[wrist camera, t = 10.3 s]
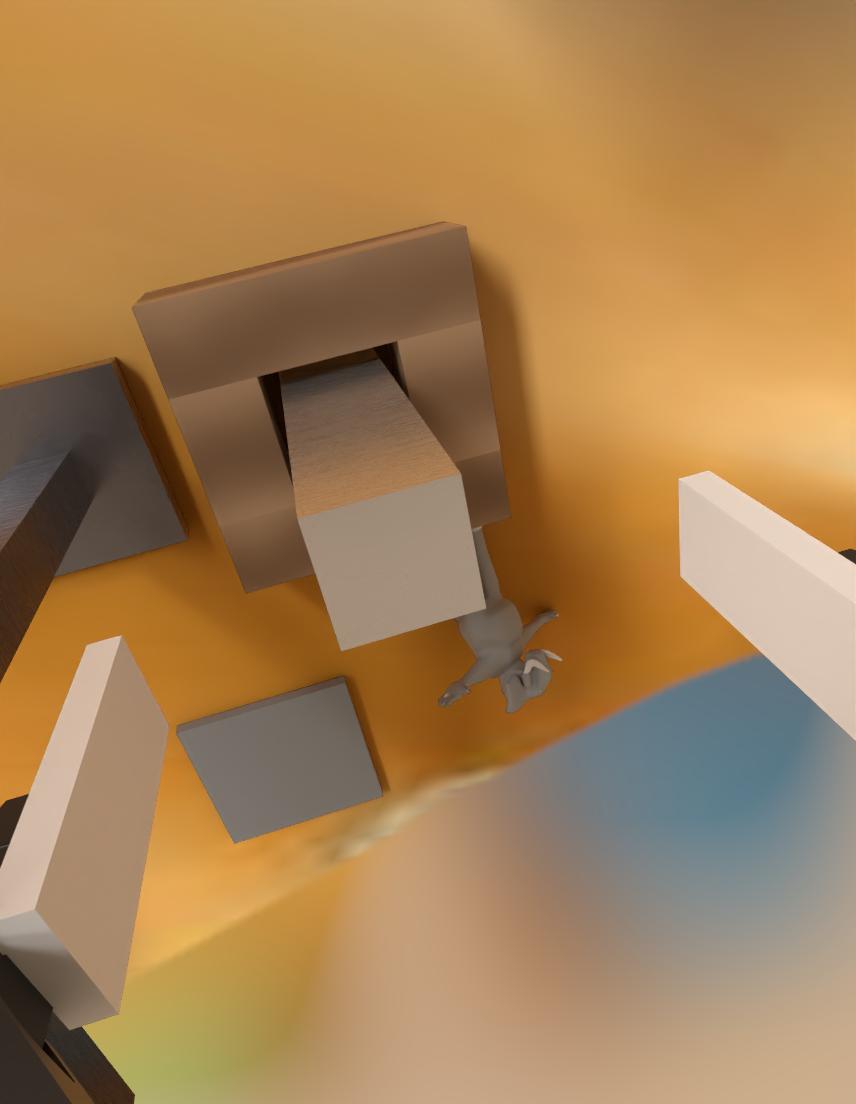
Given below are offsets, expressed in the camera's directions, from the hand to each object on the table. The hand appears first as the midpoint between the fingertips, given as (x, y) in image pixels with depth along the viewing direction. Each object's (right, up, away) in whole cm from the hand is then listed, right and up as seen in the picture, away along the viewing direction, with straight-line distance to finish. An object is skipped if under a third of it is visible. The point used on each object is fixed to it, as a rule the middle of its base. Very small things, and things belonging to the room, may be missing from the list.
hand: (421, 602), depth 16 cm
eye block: (-4, +8, +14) cm, 17 cm away
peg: (-4, +8, +14) cm, 17 cm away
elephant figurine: (+2, -1, +21) cm, 21 cm away
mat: (-8, -11, +23) cm, 26 cm away
